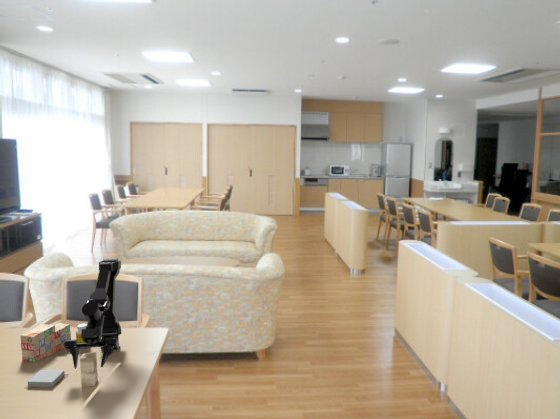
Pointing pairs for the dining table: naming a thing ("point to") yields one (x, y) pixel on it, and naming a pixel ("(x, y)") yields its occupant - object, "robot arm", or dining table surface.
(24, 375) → the dining table surface
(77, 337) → the supplement bottle
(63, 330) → the stack of blocks
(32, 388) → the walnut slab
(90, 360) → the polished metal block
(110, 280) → the robot arm
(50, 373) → the slate slab
